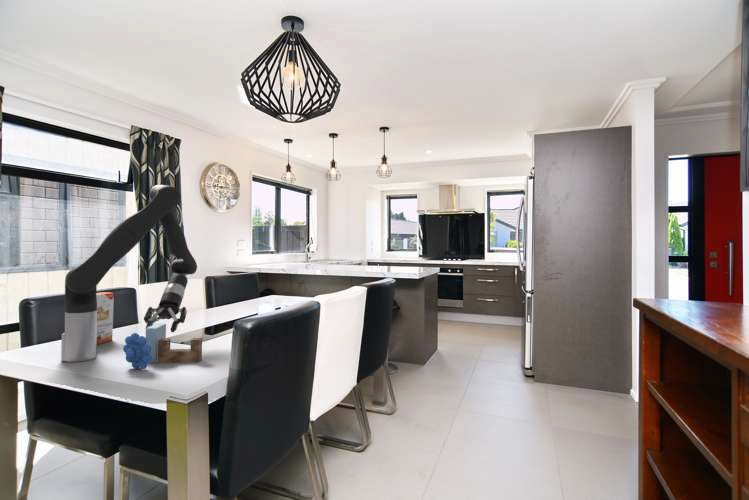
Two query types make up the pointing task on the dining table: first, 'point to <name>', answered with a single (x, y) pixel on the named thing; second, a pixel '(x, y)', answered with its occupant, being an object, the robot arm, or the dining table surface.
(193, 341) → the brown u-shaped block
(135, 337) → the grapes
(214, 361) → the dining table surface
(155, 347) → the light blue block
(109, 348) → the dining table surface
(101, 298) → the cracker box
